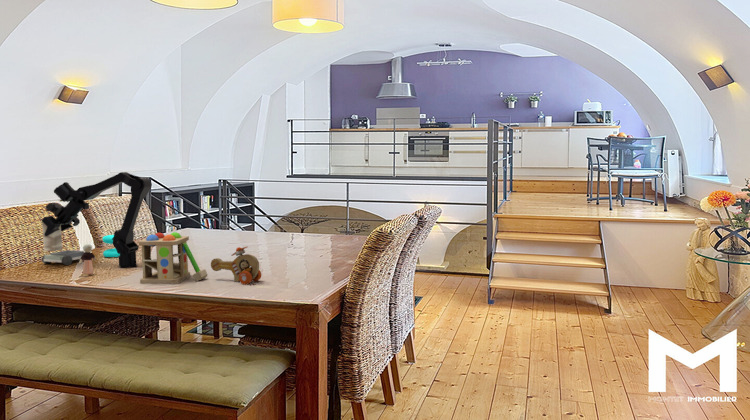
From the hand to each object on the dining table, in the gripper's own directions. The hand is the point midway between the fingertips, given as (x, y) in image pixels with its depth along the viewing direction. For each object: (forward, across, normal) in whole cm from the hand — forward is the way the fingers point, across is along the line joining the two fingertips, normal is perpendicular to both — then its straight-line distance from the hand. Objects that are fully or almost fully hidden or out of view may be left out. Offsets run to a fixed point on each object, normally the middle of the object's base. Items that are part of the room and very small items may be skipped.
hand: (49, 234), depth 256 cm
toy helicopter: (-55, +27, +75) cm, 97 cm away
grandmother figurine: (-11, +20, +30) cm, 38 cm away
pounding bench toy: (-38, +25, +58) cm, 74 cm away
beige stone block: (+4, 0, +6) cm, 7 cm away
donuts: (-1, -25, +20) cm, 32 cm away
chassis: (+8, -8, +11) cm, 16 cm away
